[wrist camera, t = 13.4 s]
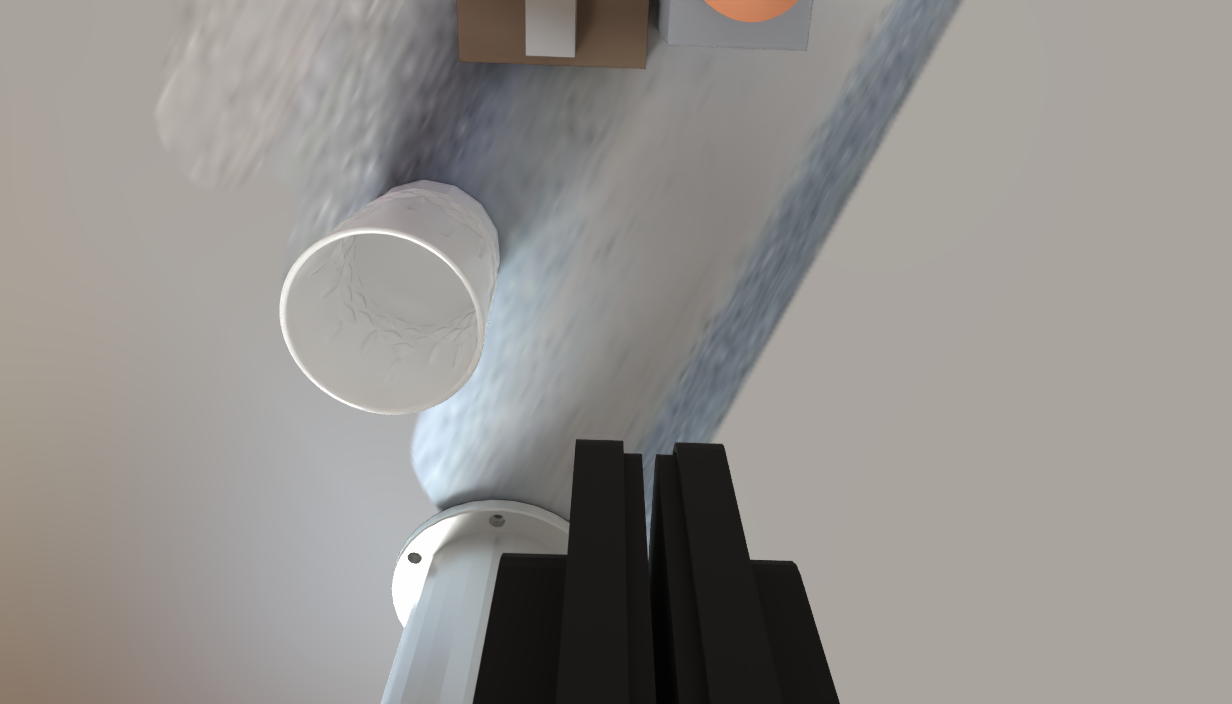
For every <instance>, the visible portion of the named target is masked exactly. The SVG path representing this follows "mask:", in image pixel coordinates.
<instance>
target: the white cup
mask: <svg viewBox="0 0 1232 704" xmlns="http://www.w3.org/2000/svg"><path fill="white" fill-rule="evenodd" d="M499 263H500V254H499V243H498V232H497V229H496V228H495V226H494V224H493V223H492V221H491V219H490V218H489V216H488V214H487V213H486V211H485V209H484V208H483V206H482V204H481V203H479V202H478V201H476V200H475V199H473V198H472V197H471V196H469V195H468V194H466V193H465V192H463V191H462V190H461V189H459V188H458V187H456V186H455V185H450V184H445V183H439V182H434V181H429V180H424V179H423V180H419V181H415V182H411V183H408V184H404V185H400V186H396V187H393V188H392V189H390V190H389V191H388V192H387V193H385V194H384V195H383V196H381V197H379V198H377V199H375V200H373V201H371V202H370V203H368V204H367V205H365V206H364V207H362V208H361V209H360V210H358V211H356V212H355V213H353V214H352V215H351V216H350V217H348V218H347V219H346V220H344V221H343V222H342V223H341V224H339V225H338V226H337V227H335V228H334V229H333V230H332V231H330V232H329V233H328V234H326V235H325V236H324V237H322V238H321V239H320V240H318V241H317V242H316V243H315V244H313V245H312V246H311V247H309V248H308V249H307V250H306V251H305V252H304V253H303V254H302V255H301V256H300V257H299V258H298V259H297V261H296V262H295V263H294V265H293V266H292V268H291V269H290V271H289V273H288V275H287V277H286V280H285V282H284V285H283V289H282V293H281V299H280V322H281V328H282V332H283V335H284V339H285V341H286V344H287V346H288V349H289V351H290V353H291V355H292V356H293V358H294V360H295V361H296V363H297V364H298V366H299V367H300V368H301V370H302V371H303V372H304V373H305V375H307V377H308V378H309V379H310V380H311V381H312V382H313V383H314V384H315V385H317V386H318V387H319V388H320V389H322V390H323V391H325V392H326V393H327V394H329V395H330V396H332V397H333V398H335V399H337V400H339V401H341V402H343V403H345V404H347V405H349V406H352V407H354V408H358V409H361V410H364V411H369V412H374V413H380V414H408V413H414V412H419V411H423V410H426V409H429V408H431V407H434V406H436V405H438V404H440V403H442V402H444V401H445V400H447V399H449V398H450V397H451V396H453V395H454V394H455V393H456V392H458V391H459V390H460V389H461V388H462V387H463V386H464V385H465V384H466V382H467V381H468V380H469V378H470V377H471V376H472V374H473V372H474V371H475V369H476V367H477V365H478V362H479V360H480V357H481V354H482V350H483V346H484V341H485V337H486V332H487V328H488V324H489V319H490V315H491V311H492V307H493V302H494V295H495V290H496V285H497V274H498V267H499Z"/></svg>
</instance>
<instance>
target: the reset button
mask: <svg viewBox="0 0 1232 704" xmlns="http://www.w3.org/2000/svg"><path fill="white" fill-rule="evenodd" d="M704 1H705V2H706V3H707V4H708V5H709V6H710V7H711V8H712V9H714V10H716V11H717V12H719V13H721V14H723V15H725V16H727V17H729V18H732V19H734V20H738V21H742V22H761V21H766V20H769V19H772V18H775V17H777V16H779V15H781V14H782V13H784V12H786V11H787V10H789V9H790V8H791V7H792V6H793V5H795V4H796V2H797V1H798V0H704Z"/></svg>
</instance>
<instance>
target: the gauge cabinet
mask: <svg viewBox="0 0 1232 704" xmlns="http://www.w3.org/2000/svg"><path fill="white" fill-rule="evenodd" d="M812 3H813V0H798V1H797V2H796V4H795V5H793V6H792V7H791V8H790V9H789V10H787V11H786V12H784V13H782V14H781V15H779V16H777V17H775V18H772V19H769V20H766V21H761V22H742V21H738V20H734V19H732V18H729V17H727V16H725V15H723V14H721V13H719V12H717V11H716V10H714V9H712V8H711V7H710V6H709V5H708V4H707V3H706V2H705V1H704V0H659V2H658V20H657V29H658V31H659V32H660V34H661V36H662V37H663V39H664V40H665V42H666V43H667V45H677V46H702V47H727V48H752V49H777V50H802V51H807V43H808V35H809V27H810V19H811V11H812Z"/></svg>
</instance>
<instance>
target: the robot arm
mask: <svg viewBox="0 0 1232 704" xmlns="http://www.w3.org/2000/svg"><path fill="white" fill-rule="evenodd" d="M391 587H392V598H393V604H394V607H395V610H396V613H397V615H398V618H399V619H400V621H401V623H402V625H403V626H404V630H403V634H402V637H401V640H400V643H399V647H398V650H397V653H396V656H395V659H394V662H393V666H392V669H391V672H390V675H389V678H388V682H387V685H386V688H385V691H384V694H383V698H382V701H381V704H840V703H839V699H838V696H837V693H836V690H835V686H834V683H833V680H832V676H831V673H830V670H829V667H828V663H827V660H826V657H825V654H824V650H823V647H822V644H821V640H820V637H819V634H818V631H817V627H816V624H815V621H814V617H813V615H812V611H811V607H810V604H809V601H808V598H807V594H806V591H805V588H804V585H803V581H802V578H801V575H800V572H799V570H798V567H797V565H796V564H795V563H794V562H793V561H772V560H750V558H749V553H748V549H747V544H746V540H745V536H744V531H743V527H742V522H741V518H740V514H739V509H738V505H737V500H736V496H735V492H734V488H733V483H732V479H731V474H730V470H729V465H728V461H727V457H726V452H725V448H724V445H723V444H710V443H678V442H675V444H674V449H673V455H660V454H656V459H655V470H654V485H653V499H652V514H651V529H650V544H649V559H648V553H647V536H646V518H645V501H644V484H643V467H642V454H627V453H624V449H623V441H613V440H581V439H576V446H575V459H574V472H573V485H572V498H571V511H570V523H569V522H567V521H565V520H564V519H562V518H561V517H559V516H557V515H556V514H554V513H552V512H549V511H547V510H544V509H542V508H539V507H537V506H534V505H529V504H525V503H521V502H516V501H506V500H484V501H473V502H469V503H465V504H461V505H457V506H453V507H451V508H449V509H447V510H444V511H442V512H440V513H438V514H436V515H434V516H433V517H431V518H430V519H428V520H427V521H426V522H424V523H423V524H422V525H420V526H419V527H418V528H417V529H416V530H415V531H414V533H413V534H412V535H411V536H410V537H409V538H408V539H407V541H406V543H405V545H404V546H403V548H402V550H401V552H400V554H399V557H398V560H397V563H396V565H395V568H394V572H393V578H392V585H391Z"/></svg>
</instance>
